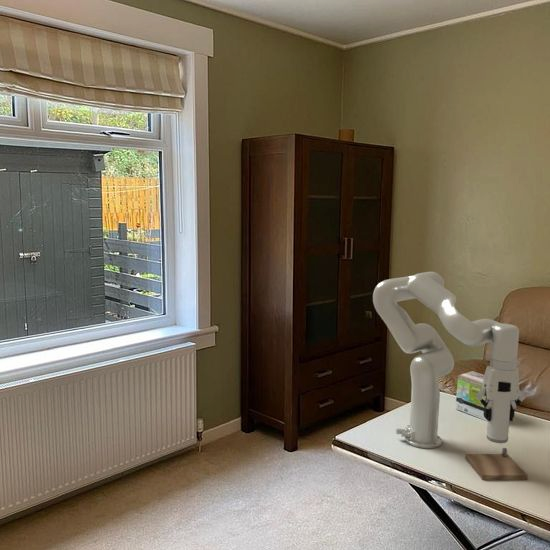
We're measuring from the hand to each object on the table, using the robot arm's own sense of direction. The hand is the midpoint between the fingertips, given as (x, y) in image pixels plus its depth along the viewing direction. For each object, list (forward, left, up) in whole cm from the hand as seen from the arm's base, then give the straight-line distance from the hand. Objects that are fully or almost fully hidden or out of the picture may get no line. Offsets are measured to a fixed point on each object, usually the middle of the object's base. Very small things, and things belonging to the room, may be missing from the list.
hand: (498, 419), depth 174 cm
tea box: (+13, +45, -17) cm, 50 cm away
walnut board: (0, 0, -16) cm, 16 cm away
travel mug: (0, 0, -7) cm, 7 cm away
